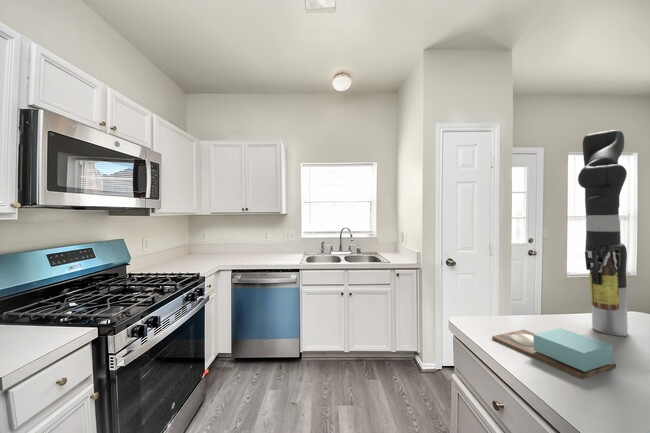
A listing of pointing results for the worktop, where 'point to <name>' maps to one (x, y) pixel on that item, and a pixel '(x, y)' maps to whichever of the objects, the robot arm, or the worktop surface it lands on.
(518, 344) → the walnut board
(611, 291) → the sauce bottle
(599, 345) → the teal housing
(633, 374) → the worktop surface
